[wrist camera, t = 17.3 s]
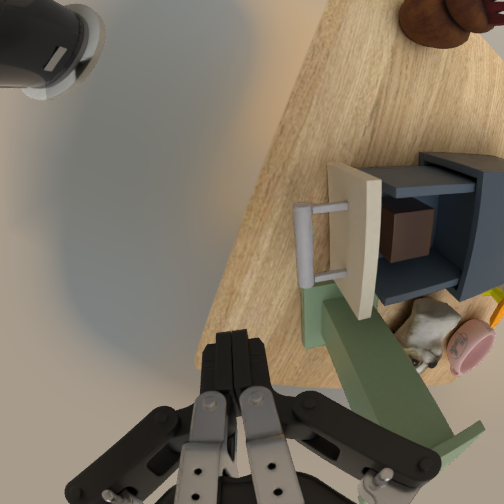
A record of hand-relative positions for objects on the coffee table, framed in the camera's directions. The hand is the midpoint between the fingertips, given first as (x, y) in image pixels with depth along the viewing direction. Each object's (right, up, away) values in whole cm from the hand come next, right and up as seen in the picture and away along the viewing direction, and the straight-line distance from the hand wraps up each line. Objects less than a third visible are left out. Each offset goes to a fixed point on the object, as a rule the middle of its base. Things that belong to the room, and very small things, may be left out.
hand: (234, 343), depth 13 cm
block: (+14, +8, +12) cm, 20 cm away
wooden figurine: (+18, +28, +4) cm, 34 cm away
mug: (+39, -11, +25) cm, 48 cm away
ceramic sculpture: (+23, -6, +22) cm, 32 cm away
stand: (+11, -2, +18) cm, 21 cm away
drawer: (+13, +8, +12) cm, 20 cm away
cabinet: (+26, +11, +14) cm, 32 cm away
